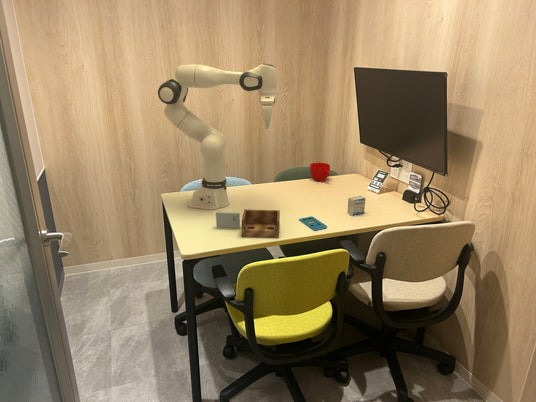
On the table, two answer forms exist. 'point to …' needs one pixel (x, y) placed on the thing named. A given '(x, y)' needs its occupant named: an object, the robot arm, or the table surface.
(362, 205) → the medicine box
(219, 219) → the door
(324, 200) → the table surface
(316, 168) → the ceramic cup
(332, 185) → the table surface
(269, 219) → the wooden box
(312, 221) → the handheld gaming device
